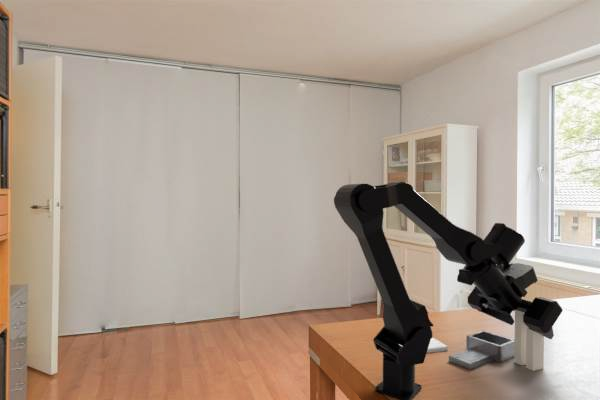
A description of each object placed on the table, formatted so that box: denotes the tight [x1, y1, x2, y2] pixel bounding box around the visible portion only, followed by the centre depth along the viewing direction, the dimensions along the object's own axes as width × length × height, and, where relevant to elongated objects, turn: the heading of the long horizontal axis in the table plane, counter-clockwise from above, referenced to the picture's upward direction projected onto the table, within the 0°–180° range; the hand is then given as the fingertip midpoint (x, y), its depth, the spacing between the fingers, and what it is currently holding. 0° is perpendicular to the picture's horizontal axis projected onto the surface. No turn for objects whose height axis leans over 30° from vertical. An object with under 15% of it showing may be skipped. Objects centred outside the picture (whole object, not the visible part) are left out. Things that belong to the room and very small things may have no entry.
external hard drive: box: [399, 336, 449, 354], centre depth 93 cm, size 2×8×12 cm
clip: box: [513, 310, 545, 372], centre depth 83 cm, size 3×4×12 cm
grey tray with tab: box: [448, 330, 515, 370], centre depth 87 cm, size 16×8×3 cm, turn 124°
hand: (531, 329), depth 83 cm, fingers open, 9 cm apart
